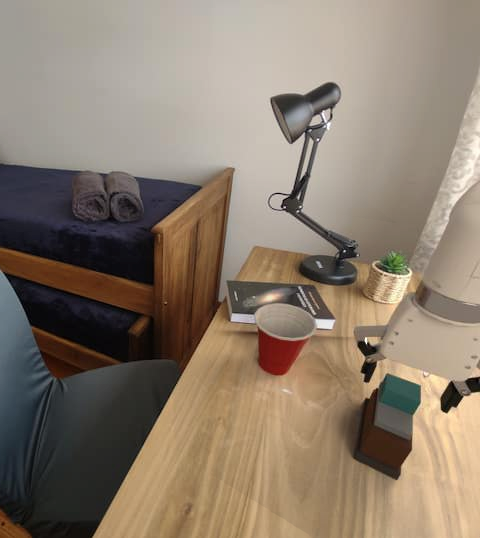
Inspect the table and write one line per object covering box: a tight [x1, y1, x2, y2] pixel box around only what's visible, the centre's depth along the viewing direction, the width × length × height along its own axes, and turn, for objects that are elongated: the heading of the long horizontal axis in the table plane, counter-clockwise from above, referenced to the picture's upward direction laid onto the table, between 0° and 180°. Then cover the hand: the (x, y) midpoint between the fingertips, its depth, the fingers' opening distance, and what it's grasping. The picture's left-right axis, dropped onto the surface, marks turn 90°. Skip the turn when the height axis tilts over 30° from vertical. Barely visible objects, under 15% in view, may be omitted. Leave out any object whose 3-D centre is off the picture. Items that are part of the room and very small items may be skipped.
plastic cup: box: [253, 302, 318, 376], centre depth 69 cm, size 11×11×12 cm
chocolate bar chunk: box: [353, 387, 413, 481], centre depth 57 cm, size 13×6×6 cm, turn 144°
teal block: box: [374, 372, 422, 440], centre depth 54 cm, size 9×4×4 cm, turn 144°
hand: (403, 390), depth 55 cm, fingers open, 9 cm apart
